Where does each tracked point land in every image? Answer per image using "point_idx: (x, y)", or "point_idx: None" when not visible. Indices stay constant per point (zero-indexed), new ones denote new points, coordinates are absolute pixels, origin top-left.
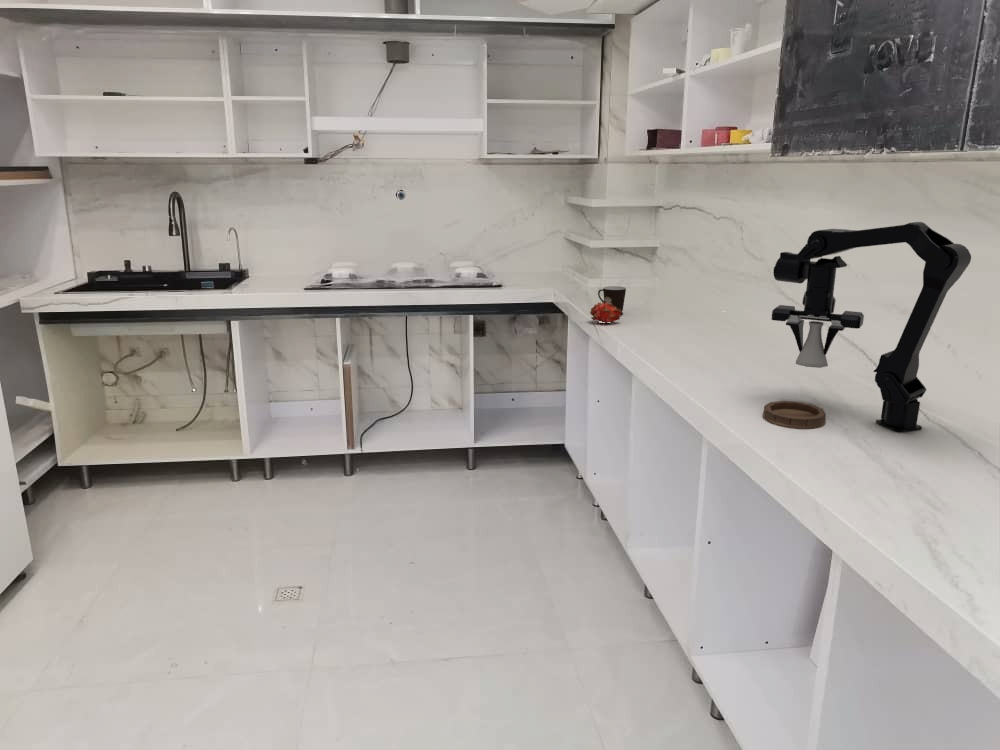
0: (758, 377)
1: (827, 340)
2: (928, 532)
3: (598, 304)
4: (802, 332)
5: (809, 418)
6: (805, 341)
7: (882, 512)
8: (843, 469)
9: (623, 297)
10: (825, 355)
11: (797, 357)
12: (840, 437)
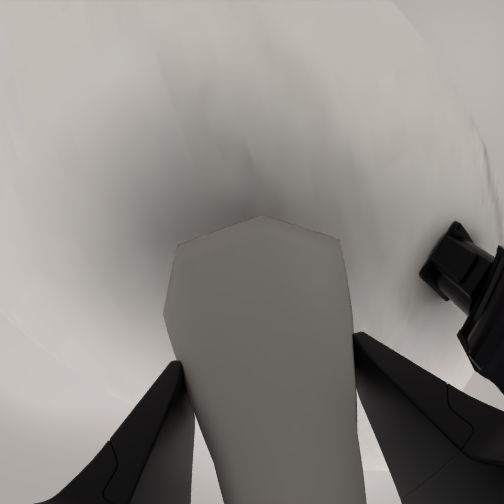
0: (27, 68)
1: (396, 460)
2: None
3: None
4: (149, 495)
5: None
6: (203, 434)
7: (381, 454)
8: (359, 436)
9: None
10: (350, 312)
11: (168, 331)
12: None
